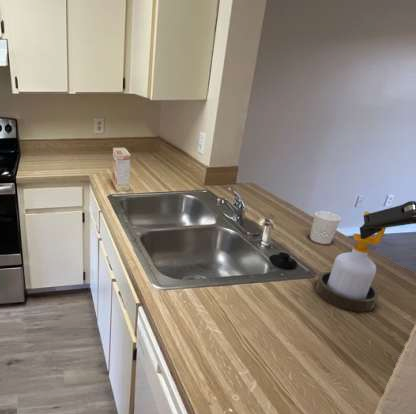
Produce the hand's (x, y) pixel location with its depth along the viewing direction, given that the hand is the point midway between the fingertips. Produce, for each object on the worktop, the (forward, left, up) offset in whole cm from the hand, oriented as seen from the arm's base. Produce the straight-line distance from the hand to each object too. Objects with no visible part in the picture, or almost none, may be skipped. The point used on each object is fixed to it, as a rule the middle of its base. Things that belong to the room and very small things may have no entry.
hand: (396, 236), depth 75 cm
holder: (+2, -10, -25) cm, 27 cm away
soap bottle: (+2, -10, -24) cm, 26 cm away
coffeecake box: (+92, -71, -25) cm, 119 cm away
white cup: (+3, -45, -25) cm, 52 cm away
